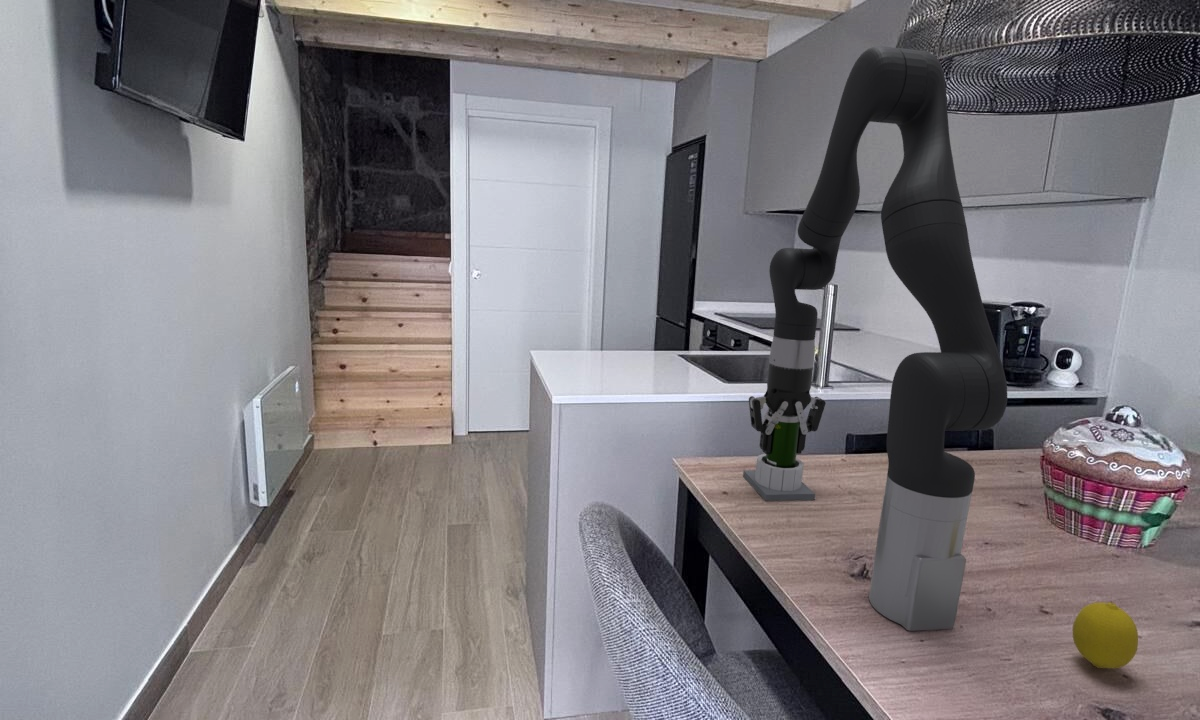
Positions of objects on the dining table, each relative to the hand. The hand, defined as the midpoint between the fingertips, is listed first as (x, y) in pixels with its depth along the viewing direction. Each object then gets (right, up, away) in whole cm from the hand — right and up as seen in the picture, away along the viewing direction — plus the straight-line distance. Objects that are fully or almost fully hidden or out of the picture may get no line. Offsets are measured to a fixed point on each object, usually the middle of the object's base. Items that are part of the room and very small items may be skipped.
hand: (781, 452), depth 112 cm
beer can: (0, -5, +1) cm, 5 cm away
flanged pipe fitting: (0, -7, +2) cm, 7 cm away
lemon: (+23, -18, -44) cm, 52 cm away
